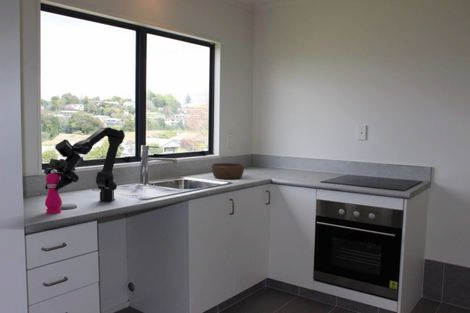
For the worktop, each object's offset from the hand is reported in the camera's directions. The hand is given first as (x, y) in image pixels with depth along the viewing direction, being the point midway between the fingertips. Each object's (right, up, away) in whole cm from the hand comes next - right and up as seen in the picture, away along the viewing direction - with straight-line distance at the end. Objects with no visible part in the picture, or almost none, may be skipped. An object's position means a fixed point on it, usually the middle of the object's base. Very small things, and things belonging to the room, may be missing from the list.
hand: (50, 189), depth 189 cm
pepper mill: (0, -11, +2) cm, 11 cm away
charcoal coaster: (+2, -10, +13) cm, 17 cm away
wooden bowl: (+79, -2, +127) cm, 150 cm away
